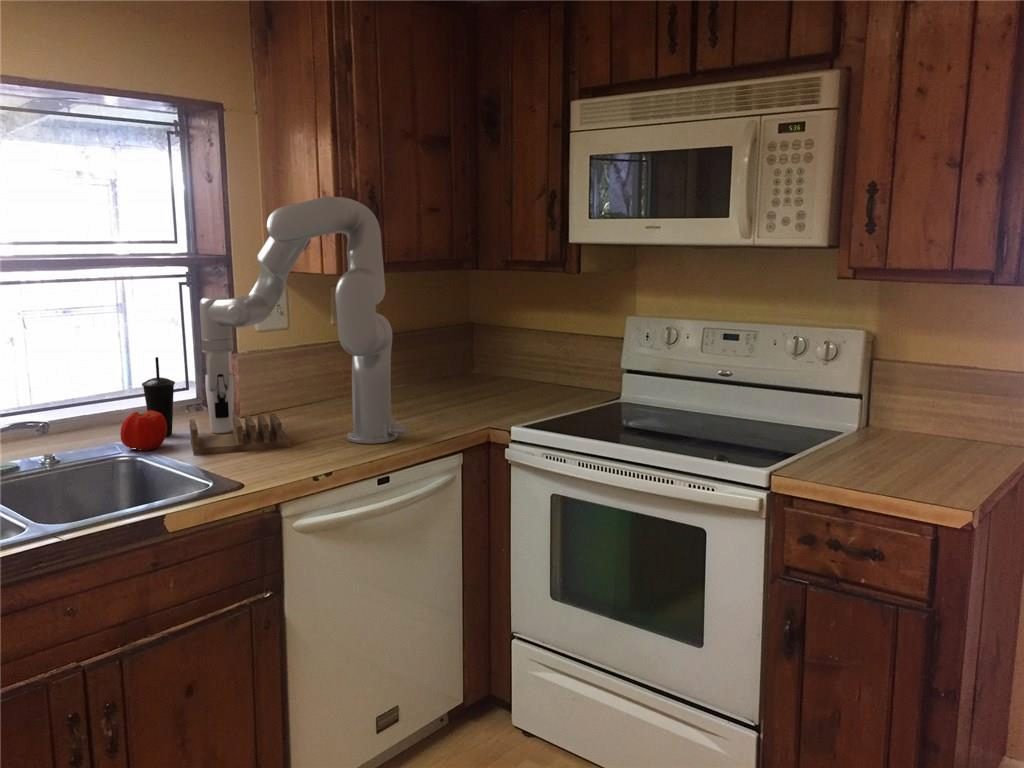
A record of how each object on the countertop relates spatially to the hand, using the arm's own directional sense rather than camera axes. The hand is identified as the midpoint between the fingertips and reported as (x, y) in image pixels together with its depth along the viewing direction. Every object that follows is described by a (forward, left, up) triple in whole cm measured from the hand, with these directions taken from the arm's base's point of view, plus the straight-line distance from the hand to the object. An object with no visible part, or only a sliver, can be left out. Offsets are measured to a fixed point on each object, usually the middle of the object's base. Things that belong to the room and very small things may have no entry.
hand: (221, 414), depth 220 cm
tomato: (+8, +20, -5) cm, 22 cm away
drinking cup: (+12, +8, -5) cm, 15 cm away
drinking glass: (0, 0, -5) cm, 5 cm away
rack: (-12, +11, -5) cm, 17 cm away
